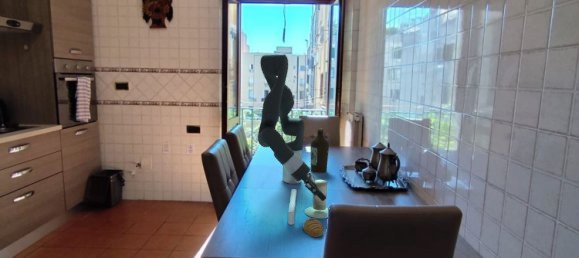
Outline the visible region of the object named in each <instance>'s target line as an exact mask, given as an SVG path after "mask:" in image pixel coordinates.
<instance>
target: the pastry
mask: <svg viewBox="0 0 579 258" xmlns="http://www.w3.org/2000/svg"><path fill="white" fill-rule="evenodd" d="M302 227H303V230H304V232H305V234H308V235H309V236H310V237H313V238H317V237H322V236H323V234H324V227H323V224H322V223H321V221H320V220H317V218H313V217H310V218H309V219H306V220H305V221H304V222H303V226H302Z"/></svg>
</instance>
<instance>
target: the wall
mask: <svg viewBox="0 0 579 258" xmlns="http://www.w3.org/2000/svg"><path fill="white" fill-rule="evenodd" d="M289 201H290V202H289V205H288V217H287V219H288V221H287V222H288V223H287V224H288V225H294V223H295V222H294V221H295V212H296V203H297V189H293V188H291V192H290V199H289Z"/></svg>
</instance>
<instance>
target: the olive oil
mask: <svg viewBox="0 0 579 258" xmlns="http://www.w3.org/2000/svg"><path fill="white" fill-rule="evenodd" d="M329 151H330V143H329V141H328V139H327V138H326V137H325V135H324V128H322V127H318V128H317V133H316V136H315V137H314V138H313V139H312V140H311V142H310V171H311V172H312V173H316V174H323V173H326V172H327V171H328V160H329V159H328V158H329Z"/></svg>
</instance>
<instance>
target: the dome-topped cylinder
mask: <svg viewBox="0 0 579 258" xmlns="http://www.w3.org/2000/svg"><path fill="white" fill-rule="evenodd" d="M315 183H316V184H317V187H318V188H319V189H320V191H321V192H322V193H323V194H324V195H325V196H326V199H325V200H324V201H322V200H321V199H320V198H319V197H318V196H317V195H313V194H312V207H313V209H315V210H325V209H326V208H327V198H328V195H327V194H328V181H327V180H323V179H316V180H315ZM314 186H315V185H314ZM314 191H316V189H314Z"/></svg>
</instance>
